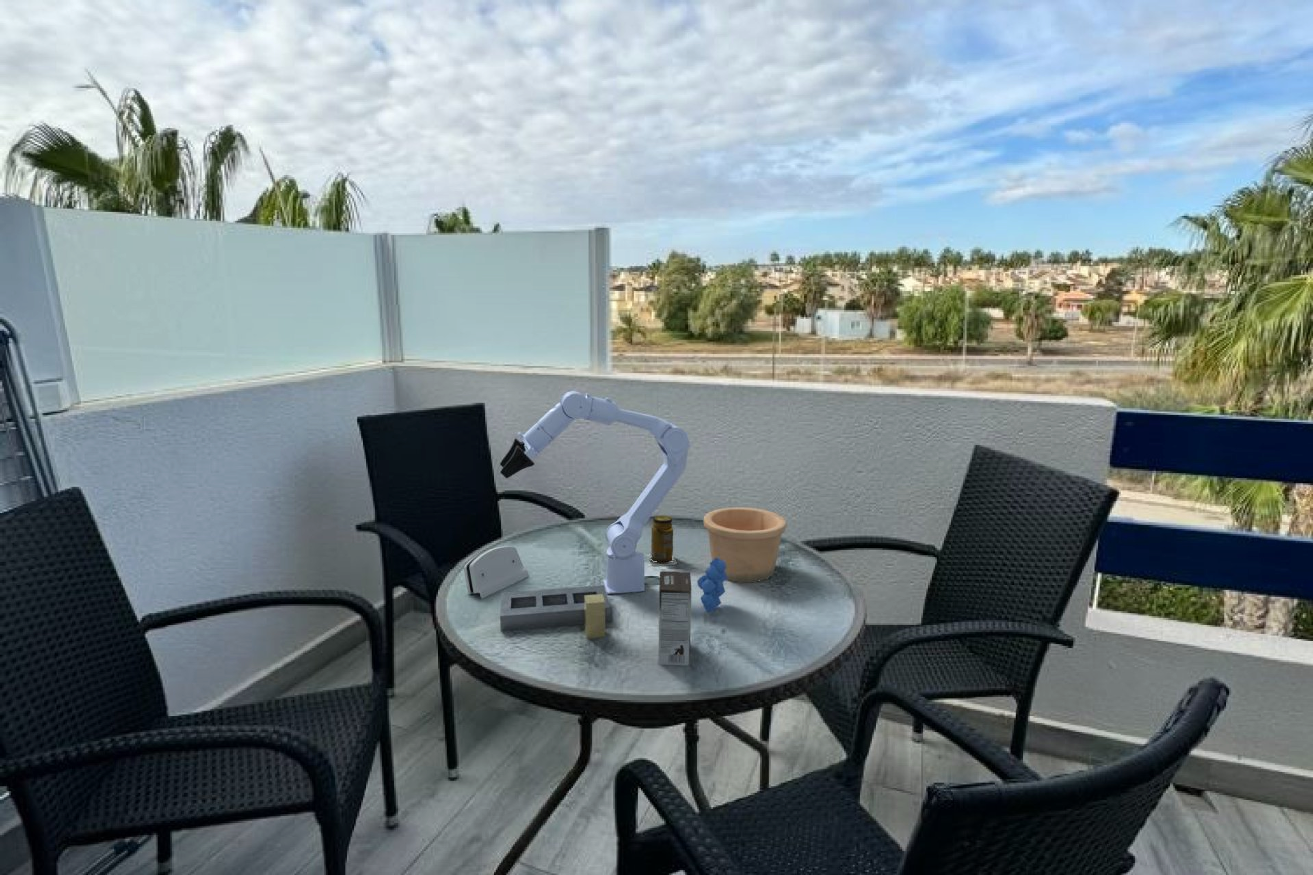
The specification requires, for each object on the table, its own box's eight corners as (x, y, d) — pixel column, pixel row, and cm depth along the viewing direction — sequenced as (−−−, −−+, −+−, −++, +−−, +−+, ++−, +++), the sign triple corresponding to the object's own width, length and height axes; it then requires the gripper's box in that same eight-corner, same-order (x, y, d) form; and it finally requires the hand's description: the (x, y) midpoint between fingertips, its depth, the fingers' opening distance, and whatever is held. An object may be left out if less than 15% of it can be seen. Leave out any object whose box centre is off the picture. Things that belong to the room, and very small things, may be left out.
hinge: (481, 598, 158) (470, 558, 158) (469, 600, 161) (457, 561, 161) (530, 575, 172) (519, 538, 172) (517, 577, 174) (507, 541, 174)
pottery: (767, 593, 162) (770, 538, 159) (688, 575, 173) (689, 523, 170) (795, 564, 181) (797, 515, 178) (722, 549, 191) (723, 502, 188)
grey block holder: (604, 598, 158) (603, 585, 158) (610, 621, 147) (610, 607, 146) (502, 606, 154) (501, 592, 153) (500, 631, 142) (500, 616, 142)
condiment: (671, 553, 188) (671, 513, 186) (678, 564, 180) (679, 522, 178) (646, 555, 187) (646, 514, 184) (652, 566, 178) (652, 524, 176)
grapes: (705, 594, 161) (706, 548, 159) (731, 600, 158) (733, 553, 156) (686, 614, 151) (687, 565, 148) (714, 620, 148) (715, 570, 146)
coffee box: (658, 642, 138) (659, 570, 135) (689, 642, 138) (690, 570, 135) (657, 665, 129) (658, 588, 126) (690, 666, 129) (691, 589, 126)
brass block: (602, 627, 144) (602, 594, 143) (605, 636, 140) (604, 601, 139) (584, 629, 143) (584, 595, 142) (586, 638, 140) (586, 603, 138)
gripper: (531, 413, 159) (490, 452, 158) (535, 424, 145) (490, 466, 145) (552, 434, 161) (511, 472, 160) (557, 446, 147) (513, 488, 147)
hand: (503, 471), depth 153 cm, fingers open, 7 cm apart
